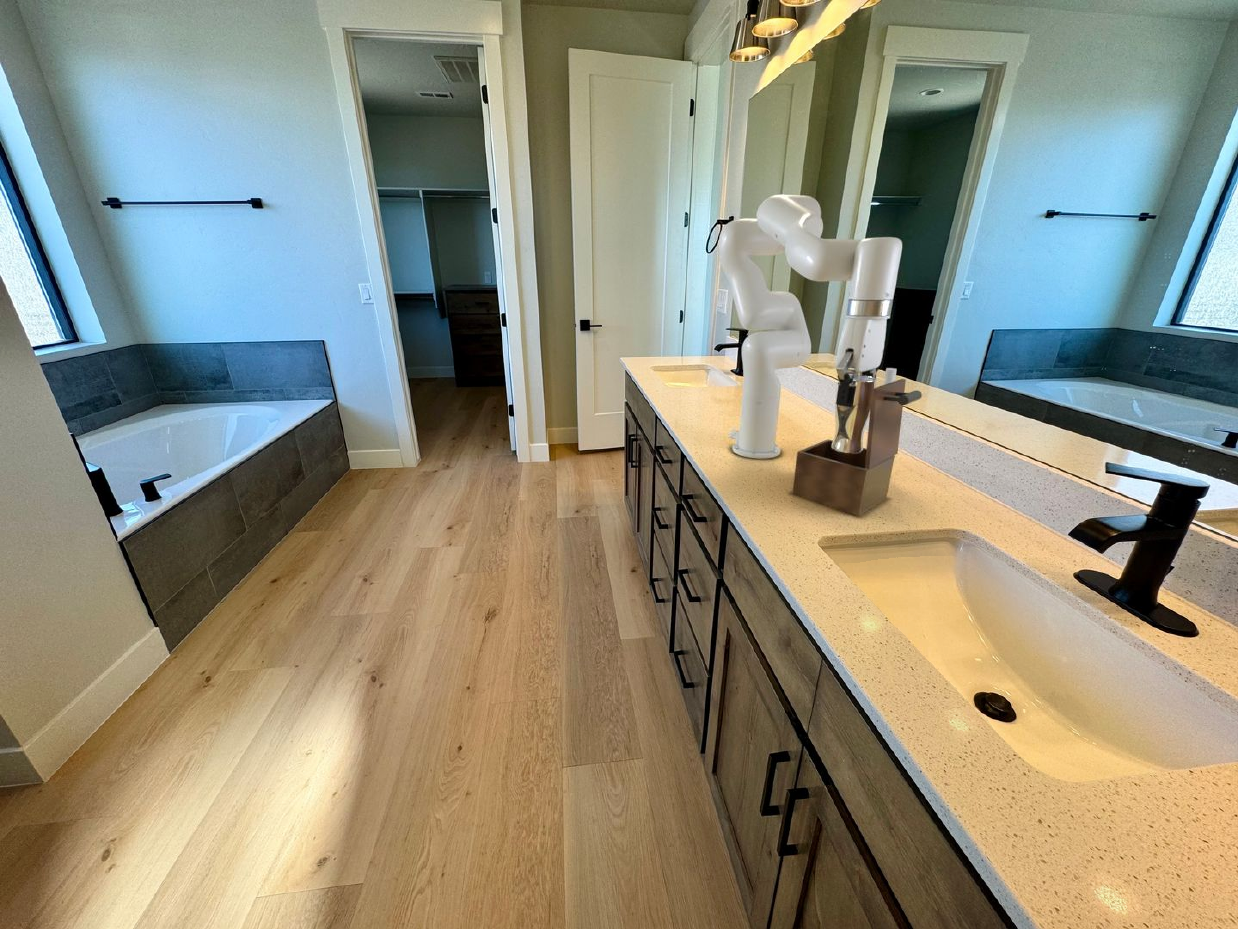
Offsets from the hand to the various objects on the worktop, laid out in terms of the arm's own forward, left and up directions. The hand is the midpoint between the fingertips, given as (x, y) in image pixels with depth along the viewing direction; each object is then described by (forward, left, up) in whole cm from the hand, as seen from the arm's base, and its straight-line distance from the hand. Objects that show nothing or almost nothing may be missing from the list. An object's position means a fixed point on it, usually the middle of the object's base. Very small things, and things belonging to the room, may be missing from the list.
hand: (853, 401), depth 98 cm
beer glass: (0, 0, -10) cm, 10 cm away
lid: (+6, 0, -3) cm, 7 cm away
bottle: (-1, +18, -21) cm, 28 cm away
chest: (0, 0, -21) cm, 21 cm away
